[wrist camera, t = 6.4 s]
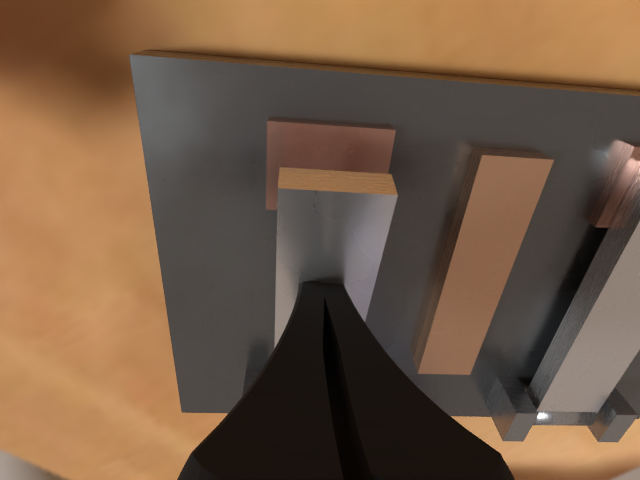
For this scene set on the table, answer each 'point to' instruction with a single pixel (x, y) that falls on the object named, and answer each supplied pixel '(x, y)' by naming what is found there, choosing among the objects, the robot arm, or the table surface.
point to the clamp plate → (407, 221)
